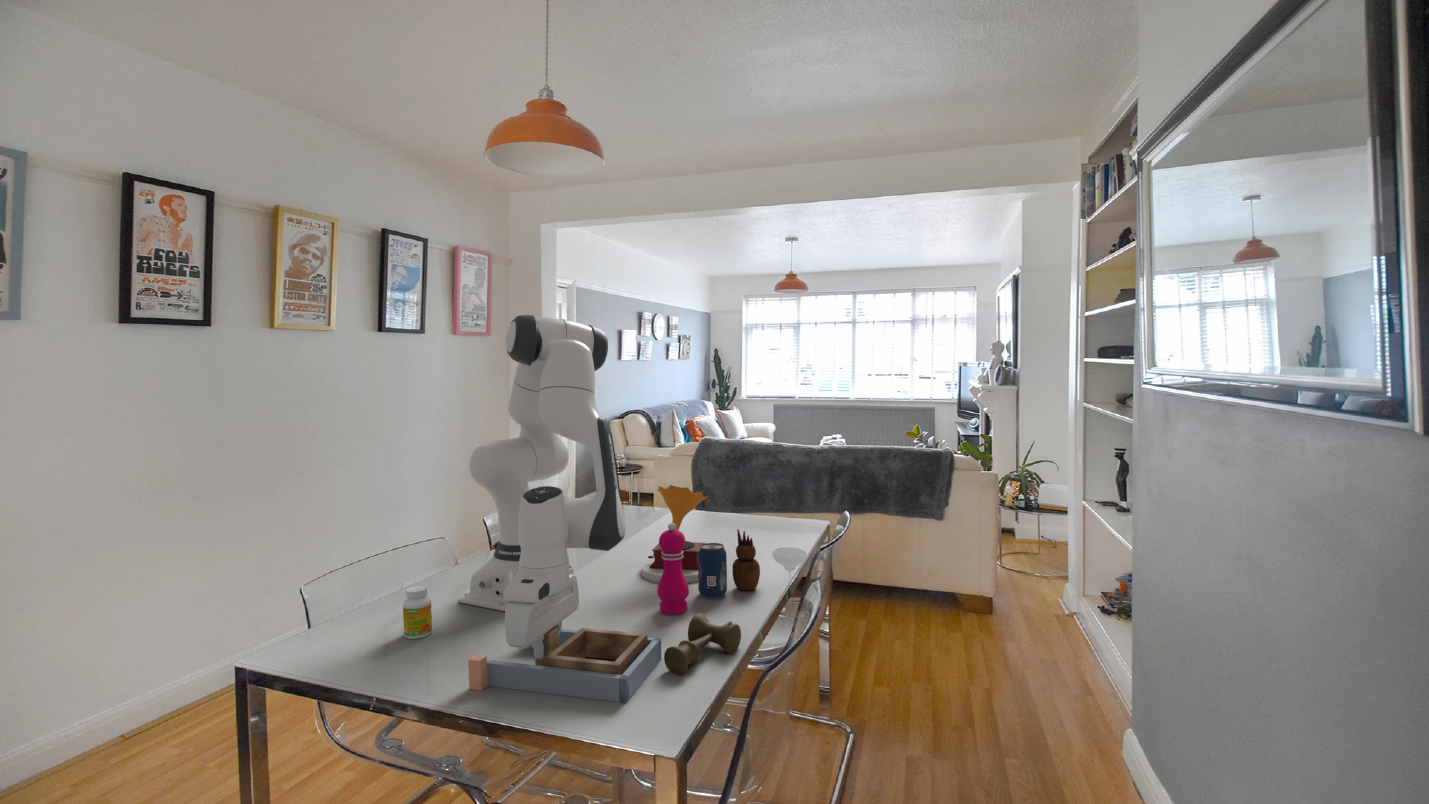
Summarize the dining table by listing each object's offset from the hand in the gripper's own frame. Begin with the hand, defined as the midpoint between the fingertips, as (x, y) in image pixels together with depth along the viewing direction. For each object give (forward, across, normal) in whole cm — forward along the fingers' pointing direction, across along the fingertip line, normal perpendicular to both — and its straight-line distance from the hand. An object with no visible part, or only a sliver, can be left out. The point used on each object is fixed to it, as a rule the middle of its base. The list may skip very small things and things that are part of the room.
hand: (546, 651), depth 119 cm
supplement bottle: (+3, -8, -35) cm, 36 cm away
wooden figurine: (+3, -51, +26) cm, 57 cm away
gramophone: (+3, -61, +5) cm, 61 cm away
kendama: (+4, -12, +26) cm, 30 cm away
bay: (+3, 0, +5) cm, 6 cm away
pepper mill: (+3, -33, +13) cm, 36 cm away
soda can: (+3, -45, +19) cm, 49 cm away
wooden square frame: (+3, 0, +8) cm, 8 cm away
